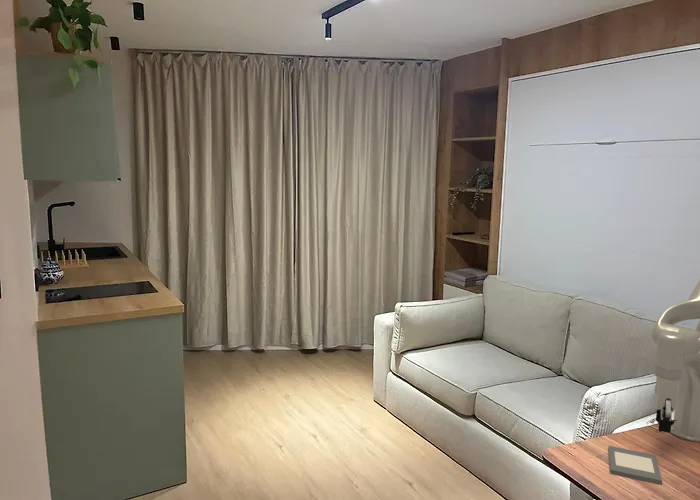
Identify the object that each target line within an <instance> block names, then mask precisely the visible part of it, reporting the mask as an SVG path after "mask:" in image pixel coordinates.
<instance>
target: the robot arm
mask: <svg viewBox="0 0 700 500" xmlns="http://www.w3.org/2000/svg"><path fill="white" fill-rule="evenodd" d="M699 319H700V279H699V280H698V282H697V284H696V285H695V286H694V289H693V290H692V291H691V293H690V295H689V297H688V299H687V300H684V301H681V302H678V303H676V304H674V305H672V306H671V307H669V308H667V309H665V310H664V311H663V312H662V313H661V315H660V316H659V318H658V320H657V321H656V322H655V324H654V327H653V329H652V332H651V339H652V341H653V343H654V344H656V351H655V352H656V353H655V360H654V361H655V363H654V373H653V374H654V376H655V377H656V380H655V387H654V394H653V401H654V404H655V408H656V412H655V413H656V415H655V416H656V417H655V418H659V417H660V415H661V417H660V419H659V420H658V421H659V424H658V428H657V430H658V432H660V431H662V432H661V433H669V434H672V435H674V436H675V437H677V438H681V439H683V440H687V441H691V442H696V443H697V442H698V443H699V442H700V320H699ZM690 320H692V321H693V320H699V322H698V323H697V325H696V328H695V329H692V328H689V327H688V328H687V327H684V326H680V325H675V324H678V323H680V322H684V321H690ZM657 413H658V414H660V415H659V416H658V414H657ZM672 413H673V416H672ZM672 417H673V420H671V418H672ZM655 420H656V422H657V419H655ZM674 420H677V421H675V422H674V424H673V425H671V422H672V421H674Z"/></svg>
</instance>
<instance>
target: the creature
mask: <svg viewBox="0 0 700 500" xmlns="http://www.w3.org/2000/svg"><path fill="white" fill-rule="evenodd" d="M656 413H657V412H656ZM657 414H658V413H657ZM659 415H660V414H658V416H659ZM660 417H661V415H660ZM660 417H659V418H656V417H654V418H652V419H650V420H648V421H647V422H646V424H647V425H648V424H650V423H651V424H652V425H653V424H654V425H656V426H658V425H659V421H658V420H659V419H660ZM656 419H657V421H656ZM671 420H672V417H671ZM673 420H674V419H673ZM673 420H672V422H671V425H673V424H674V422H675V421H677V420H674V421H673ZM655 421H656V422H657V424H656V423H655ZM656 432H659V433H663V432H662V431H659V430H658V429H657V430H656Z"/></svg>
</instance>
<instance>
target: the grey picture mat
mask: <svg viewBox="0 0 700 500" xmlns="http://www.w3.org/2000/svg"><path fill="white" fill-rule="evenodd" d="M607 451H608V461H609V462H608V463H609V473H610V474H611V475H615V476H620V477H624V478H630V479H632V480H633V479H635V480H639V481H641V482H642V481H643V482H648V483H653V484H656V485H661V486H662V483H663V479H662V475H661V471H660V467H659V464H658V463H659V462H658V459H657V456H656V454H654V453H653V454H652V453H647V452H642V451H637V450H634V449H633V450H632V449H628V448H623V447H622V448H621V447H617V446H613V445H608V448H607Z"/></svg>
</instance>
